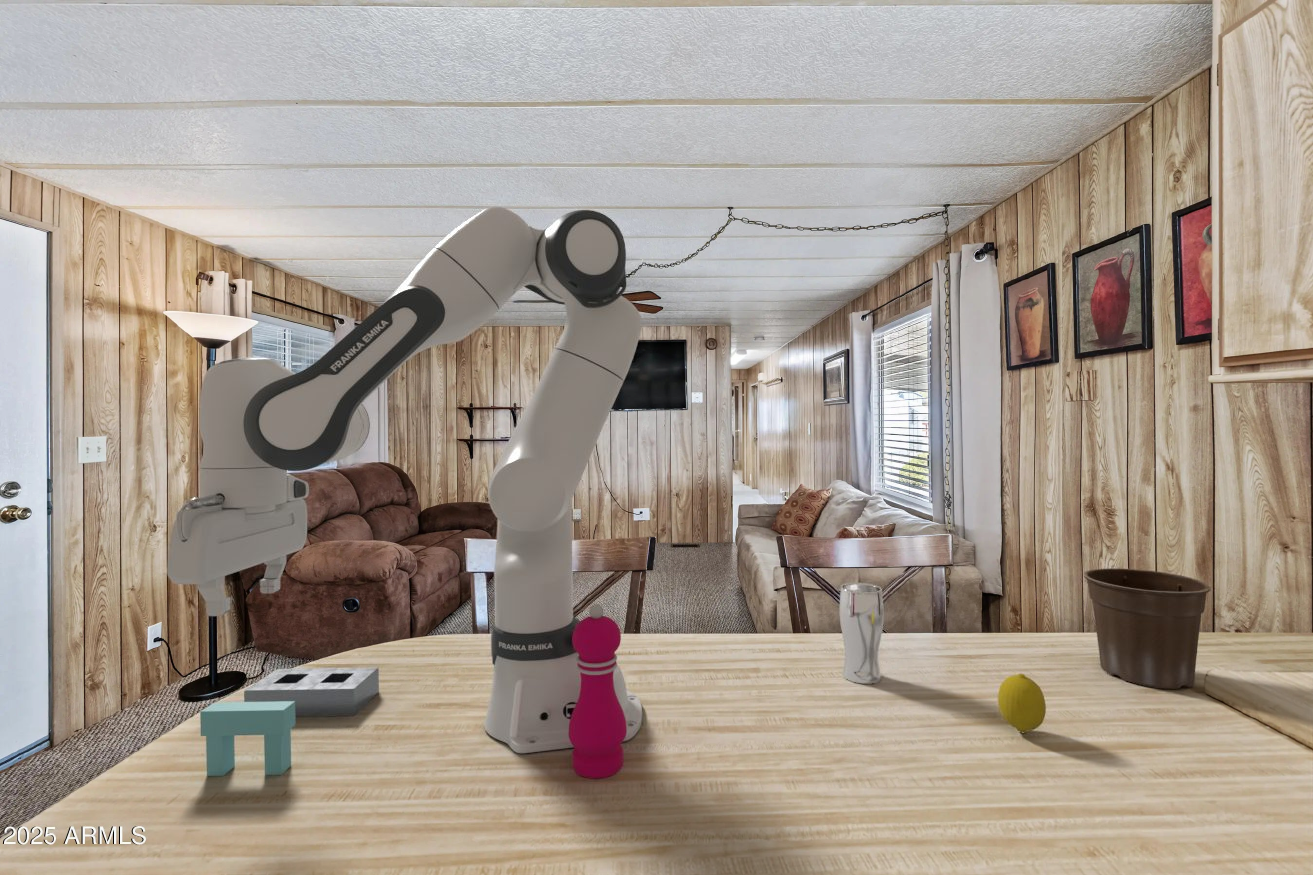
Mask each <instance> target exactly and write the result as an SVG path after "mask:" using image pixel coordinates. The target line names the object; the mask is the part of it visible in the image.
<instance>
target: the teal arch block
mask: <svg viewBox="0 0 1313 875" xmlns="http://www.w3.org/2000/svg"><path fill="white" fill-rule="evenodd" d="M199 713H200V715H199V717H200V724H199V725H200V737H205V748H206V749H205V750H206V752H205V753H206V758H205V759H206V776H207V777H221V776H223V777H224V776H225V775H227V774H228V772H230V771H231V770H232V769H234V768H235V767H236V764H235V762H236V761H235V760H236V759H235V756H236V755H235V736H263V739H264V741H263V745H264V746H263V747H264V749H263V750H264V751H263V752H264V775H265V776H278V775H279V776H280V775H281V776H282V775H283V774H284V773H285V772H286V771H287V770H288V769H289V768H290V767H291V766H292V738H291V735H292V734H291V729H293V728H294V727H295V726H296V725H297V724H296V717H295V701H277V702H244V701H231V702H230V701H227V702H226V701H223V702H218V701H217V702H216V701H215V702H213V703H212V704H209V705H208V706H207V707H205V708H204V709H202V710H200V712H199Z"/></svg>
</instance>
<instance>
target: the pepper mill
mask: <svg viewBox="0 0 1313 875" xmlns="http://www.w3.org/2000/svg"><path fill="white" fill-rule="evenodd" d="M588 613H589V616H586V617H584V618H582V619H581V620H580V622H579V623H578V624H577V625H576V627H575V629H574V632H573V636H572V642H573V647H574V649H575V650H576V652H577V653H578V654H579V655H578V657H577V662H578V664H577V670H578V671H579V672H580V675H581V690H580V695H579V698H578V701H577V704H576V706H575V708H574V710H573V713H572V715H571V719H570V722H569V732H568V735H569V739H570V742H571V743H572V745H573V746H574V747H573V748H574V749H573V750H572V767H573V770H574V772H575V773H576V774H578V775H579V776H581V777H584V778H588V779H601V778H604V779H605V778H608V777H611V776H613V775H615V774H617V773H618V772H619V771H620V770H621V769H622V767H623V765H624V748H623V746H622V745H621V744H623V742H624V741H623V740H624V738H625V736H626V733H627V727H626V719H625V716H624V712H623V710H622V707H621V705H620V703H619V701H618V698H617V696H616V693H615V689H614V682H613V673H614V670H615V669H616V667H617V665H618V663H617V660H618V655H617V654H616V651H617V650H618V649H619V647H620V645H621V641H622V636H621V635H622V634H621V630H620V627H619V625H618V624H617V623H616V621H615V620H614V619H612V618H610V617H608V616H605V615H604V608H603V606H602V605H601V604H597V603H594V604H593V605H591V606H590V608H589V610H588Z"/></svg>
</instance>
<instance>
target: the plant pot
mask: <svg viewBox="0 0 1313 875" xmlns="http://www.w3.org/2000/svg"><path fill="white" fill-rule="evenodd" d="M1083 577H1084V579H1086V580H1087V587H1088V595H1089V599H1091V602H1092V608H1093V609H1092V610H1093V614H1094V621H1095V623H1094V624H1095V629H1096V630H1095V631H1096V637H1097V638H1096V639H1097V645H1098V653H1099V655H1098V656H1099V663H1100V664H1099V665H1100V667H1101V669H1102V670H1103V671H1104V672H1105V671H1106V672H1107V674H1108V673H1109V674H1108V675H1110V674H1111V675H1110V676H1112V675H1114V676H1118V677H1120V678H1121V679H1122V681H1124V680H1125V681H1124V682H1127V681H1128V683H1131V682H1132V684H1137V685H1141V686H1142V685H1143V686H1144V687H1147V686H1148V687H1147V688H1154V689H1168V690H1171V689H1172V690H1179V689H1181V687H1185V688H1191V687H1192V686H1194V684H1195V679H1196V666H1197V658H1198V657H1197V656H1198V647H1199V646H1198V645H1199V637H1200V629H1201V628H1200V627H1201V620H1202V614H1204V612H1205V609H1206V600H1207V593H1209V592H1210V591H1211V586H1210V584H1208V583H1206V582H1205V581H1202V580H1199V579H1195V578H1192V577H1188V576H1185V575H1181V574H1174V573H1169V572H1163V571H1155V570H1147V569H1136V568H1109V567H1108V568H1095V569H1089V570H1087V571H1084V572H1083ZM1106 672H1105V673H1106ZM1143 686H1142V687H1143Z"/></svg>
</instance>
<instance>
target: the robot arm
mask: <svg viewBox="0 0 1313 875" xmlns="http://www.w3.org/2000/svg"><path fill="white" fill-rule="evenodd" d="M626 250H627V249H626V242H625V239H624V236H623V233H622V231H621V230H620V227H619V226H618V225H617V223H616V222H615V221H613V220H612V218H610V217H609V216H607V215H606V214H604V213H602V212H600V211H597V210H592V209H578V210H573V211H570V212H566V213H564V214H563V215H562V216H560V217H559V218H558V219H557V220H555V221H554V223H552V224H550V226H549V227H547V228H545V229H537V228H534V227H532V226H531V225H529V224H528V223H527V221H525V220H524V219H523V218H522V217H521V216H520V215H518V214H517V213H515V212H514V211H512V210H509V209H508V208H505V207H502V206H491V207H486V208H485V209H483V210H482V211H480V212H478V213H477V214H475V215H473V216H472V217H471V218H469V219H468V220H466V221H464V222H463V223H462V224H460V225H459V226H458V227H456V228H455V229H454V230H453V231H451V232H450V233H449V234H448V235H447V236H445V237H444V239H442V240H441V241H440V242H439V243H438V244H437V245H436V246H435V247H434V248H433V249H431V251H429V252H428V254H427V255H426V256H425V257H424V258H423V259H422V260H421V261H420V262H419V263H418V264H417V265H416V267H414V269H413V270H412V271H411V272H410V273H409V274H408V276H406V278H404V280H403V281H402V282H401V284H399V286H398V287H397V288H396V289H395V290H394V291H393V292H392V293H390V295H389V296H388V297H387V299H385V301H384V302H383V303H382V304H380V306H378V307H377V308H376V309H375V310H373V312H372V313H371V314H369V315H368V316H367V317H365V319H364V320H362V321H360V323H359V324H358V325H357V326H356V327H354V328H353V329H352V330H351V331H350V332H348V333H347V335H345V336H344V337H343V338H342V339H341V340H340V341H339V342H338V343H336V344H335V345H334V346H333V347H332V348H330V349H329V350H328V351H327V352H326V353H325V354H324V355H323V356H321V357H320V358H319V359H317V361H315V362H314V363H313V364H311V365H310V366H308V367H306V368H305V369H302V370H301V371H298V372H294V371H292V370H291V369H288V368H287V367H285V366H284V365H283V364H282V363H280V362H279V361H278V360H275V359H272V358H268V357H240V358H233V359H232V358H231V359H226V360H223V361H220V362H218V363H215V364H213V365H212V366H211V367H209V368H208V370H207V371H206V373H205V375H204V378H203V381H202V385H201V392H200V400H199V402H200V403H199V423H198V424H199V427H198V428H199V431H198V432H199V433H200V434H199V435H200V437H201V439H202V440H201V441H202V444H203V454H202V457H201V460H200V462H199V497H193V498H189V499H188V500H186V502H185V504H183V505H182V506H181V508H180V509H179V510H178V511H177V513H176V516H175V517H176V518H175V521H174V522H173V524H172V528H171V530H170V532H171V533H170V535H169V537H170V538H169V544H168V554H167V566H166V567H167V569H166V570H167V577H168V578H169V580H170V581H171V583H173V584H175V585H197V588H196V589H197V591H198V592H199V593H200V595H201V597H202V598H203V599H204V601H205V609H206V610H205V612H206V615H207V616H208V617H220V616H222V615H224V614H227V613H229V612H230V611H231V598H232V597H230V596H228V597H227V596H226V595H225V593H224V591H223V588H222V587H223V586H225V584H226V583H225V582H226V580H225V579H226V578H225V577H226V576H229V575H231V574H232V575H233V574H234V573H237V572H238V573H239V572H240V571H243V570H245V569H249V568H252V567H254V566H258V565H261V564H263V563H264V565H266V567H265V572H264V574H263V575H264V576H263V578H262V579H259V586H260V588H259V592H260V593H261V594H265V595H266V594H274V593H276V592H278V591H279V590H281V577H282V575H283V572H284V571H285V567H286V566H287V555H290V554H293V553H296V552H298V551H301V550H302V549H303V548H304V546H305V544H306V541H307V538H308V537H307V536H308V506H307V503H306V500H304V499H306V498H308V496H309V495H310V486H309V483H308V482H307V481H305V480H303V479H301V478H297V477H296V476H293V475H292V474H290V473H288V471H290V472H301V471H302V472H303V471H307V470H311V469H314V468H316V467H319V466H321V465H323V464H328V463H332V462H336V461H337V462H338V461H340V460H342V459H345V458H348V457H350V456H351V455H353V454H354V453H356V452H357V451H359V450H360V449H361V448H362V447H363V445H364V444H365V442H366V441H367V439H368V436H369V433H370V428H371V422H370V417H369V413H368V412H367V410H366V409H367V408H365V406H364V405H363V403H364V402H365V401H366V400H367V399H368V398H369V397H370V396H371V395H372V394H373V393H374V392H375V391H376V390H377V389H379V388H380V387H381V385H383V383H385V382H386V381H387V380H388V379H389V378H390V377H391V376H392V375H393V374H394V373H395V372H396V371H397V370H399V368H401V367H402V366H403V365H404V364H405V363H406V362H407V361H409V360H410V359H411V358H413V357H414V356H416V355H417V354H419V353H420V352H422V351H425V350H427V349H431V348H435V347H437V346H441V345H446V344H453V343H458V342H461V341H462V340H464V339H465V338H467V337H468V336H470V335H471V334H473V333H474V332H476V331H477V330H479V329H480V328H481V327H482V326H484V325H485V324H486V323H487V322H488V321H489V320H491V318H493V316H495V314H496V313H497V312H498V311H499V310H500V309H501V308H502V307H503V306H504V305H505V304H506V303H507V302H508V301H509V300H510V298H512V296H514V295H515V294H516V293H517V292H519V291H520V290H521V289H523V288H526V289H527V290H528V291H531V292H533V293H534V294H537V295H539V296H540V297H542V298H544V300H545V299H546V300H547V301H549V302H551V303H555V304H559V305H565V310H566V311H565V312H566V319H565V324H564V327H563V331H562V333H561V334H560V337H559V338H558V341H557V343H556V344H555V347H554V349H553V351H552V353H551V356H550V357H549V360H548V362H547V363H546V366H545V368H544V371H543V372H542V375H541V377H540V379H539V381H538V383H537V386H536V387H535V390H534V392H533V394H532V395H531V398H530V400H529V401H528V404H527V406H526V408H525V409H524V411H523V413H522V415H521V417H520V419H519V421H518V422H517V424H516V426H515V428H514V429H513V431H512V434H511V436H510V438H509V440H508V442H507V443H506V446H505V448H504V449H503V451H502V452H501V453H502V454H501V456H500V458H499V459H498V461H497V463H496V466H495V468H494V470H493V471H492V473H491V476H490V478H489V481H488V486H487V499H488V503H489V506H490V510H492V512H493V514H494V516H495V517H496V518H497V529H496V530H497V532H496V547H495V560H494V569H493V570H494V571H493V572H494V623H493V624H492V625H491V634H490V647H491V648H490V652H491V653H490V656H491V661H492V665H493V677H492V684H491V691H490V692H491V693H490V699H489V704H488V707H487V712H486V716H485V718H484V721H483V722H484V723H483V725H484V726H483V727H484V729H485V731H486V733H487V734H488V735H490V736H491V737H492V738H494V739H497V740H498V741H501V742H503V743H505V744H507V745H508V747H510V749H511V750H512V751H513V752H515V753H517V754H527V753H528V754H529V753H536V752H537V753H538V752H546V751H553V750H561V749H562V750H563V749H569V748H570V749H571V748H575V747H574V746H573V745H572V743H571V742H570V739H569V735H568V732H569V722H570V719H571V715H572V713H573V710H574V708H575V706H576V704H577V701H578V698H579V695H580V690H581V675H580V672H579V671H578V670H577V664H578V662H577V657H578V655H579V654H578V653H577V652H576V650H575V649H574V647H573V642H572V636H573V632H574V629H575V627H576V625H577V624H578V623H579V622H580V621H581V620H580V619H578V618H577V617H575V616H574V595H573V594H574V593H573V591H574V590H573V588H574V587H573V586H574V585H573V584H574V583H573V581H574V580H573V579H574V578H573V577H574V576H573V574H574V573H573V516H572V515H573V508H572V507H573V505H572V504H573V497H574V495H575V493H576V492H577V491H576V490H577V488H578V486H579V483H580V481H581V479H582V477H583V474H584V473H585V470H586V468H587V465H588V463H589V461H590V459H591V456H592V454H593V451H594V449H595V446H596V444H597V441H598V439H599V437H600V435H601V432H602V430H603V428H604V425H605V423H606V422H607V420H608V416H609V415H610V412H611V410H612V408H613V406H614V404H615V402H616V399H617V397H618V395H619V393H620V390H621V388H622V386H623V384H624V382H625V380H626V377H627V376H628V372H629V370H630V368H631V365H632V363H633V362H632V361H633V360H634V356H635V353H636V351H637V347H638V343H639V338H640V335H641V331H642V327H643V326H642V324H643V321H642V317H641V314H640V312H639V310H638V309H637V308H636V306H635V305H634V304H633V303H632V302H631V301H630V300H629V299H627V298H625V297H624V296H622V295H623V293H625V291H626V288H627V274H626V273H627V272H626V262H627V260H626V259H627V251H626ZM620 288H621V289H620ZM613 682H614V689H615V693H616V696H617V698H618V701H619V703H620V705H621V707H622V710H623V712H624V716H625V719H626V727H627V733H626V736H625V738H624V740H623V742H626V741H629V740H631V739H633V737H635V735H636V734H637V733H638V732H639V730H640V728H641V726H642V722H643V708H642V702H641V699H640V698H639V697H638V695H636V693H634V692H633V691H631V690H627V685H626V682H625V678H624V674H623V672H622V670H621V668H620V666H619V665H618V664H617V667H616V669H615V670H614V673H613Z"/></svg>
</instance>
